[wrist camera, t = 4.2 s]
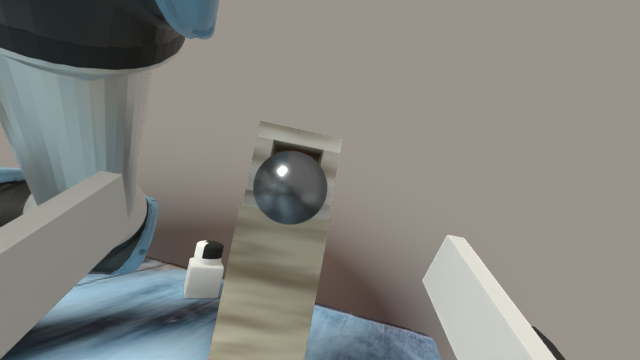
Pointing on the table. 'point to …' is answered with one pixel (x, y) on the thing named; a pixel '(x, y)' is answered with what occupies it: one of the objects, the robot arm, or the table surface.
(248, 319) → the bore stand
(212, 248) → the medicine bottle
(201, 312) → the table surface
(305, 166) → the plug rod
